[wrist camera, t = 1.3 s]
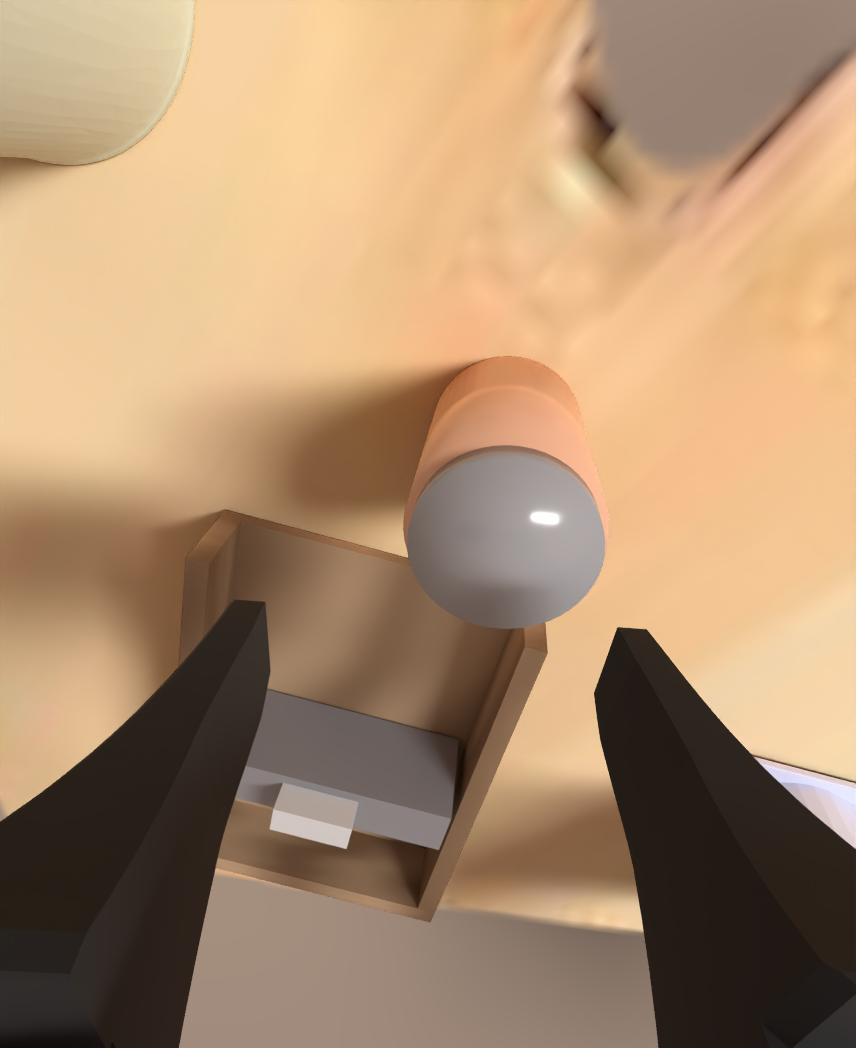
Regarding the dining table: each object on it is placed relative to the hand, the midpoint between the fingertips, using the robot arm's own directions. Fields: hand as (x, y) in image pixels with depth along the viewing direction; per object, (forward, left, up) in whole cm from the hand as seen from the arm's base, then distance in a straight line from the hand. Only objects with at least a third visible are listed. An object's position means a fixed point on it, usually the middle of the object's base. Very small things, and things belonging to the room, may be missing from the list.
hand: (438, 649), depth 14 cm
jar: (-1, -1, -11) cm, 11 cm away
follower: (+2, +14, -10) cm, 17 cm away
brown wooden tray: (+2, +13, -11) cm, 17 cm away
